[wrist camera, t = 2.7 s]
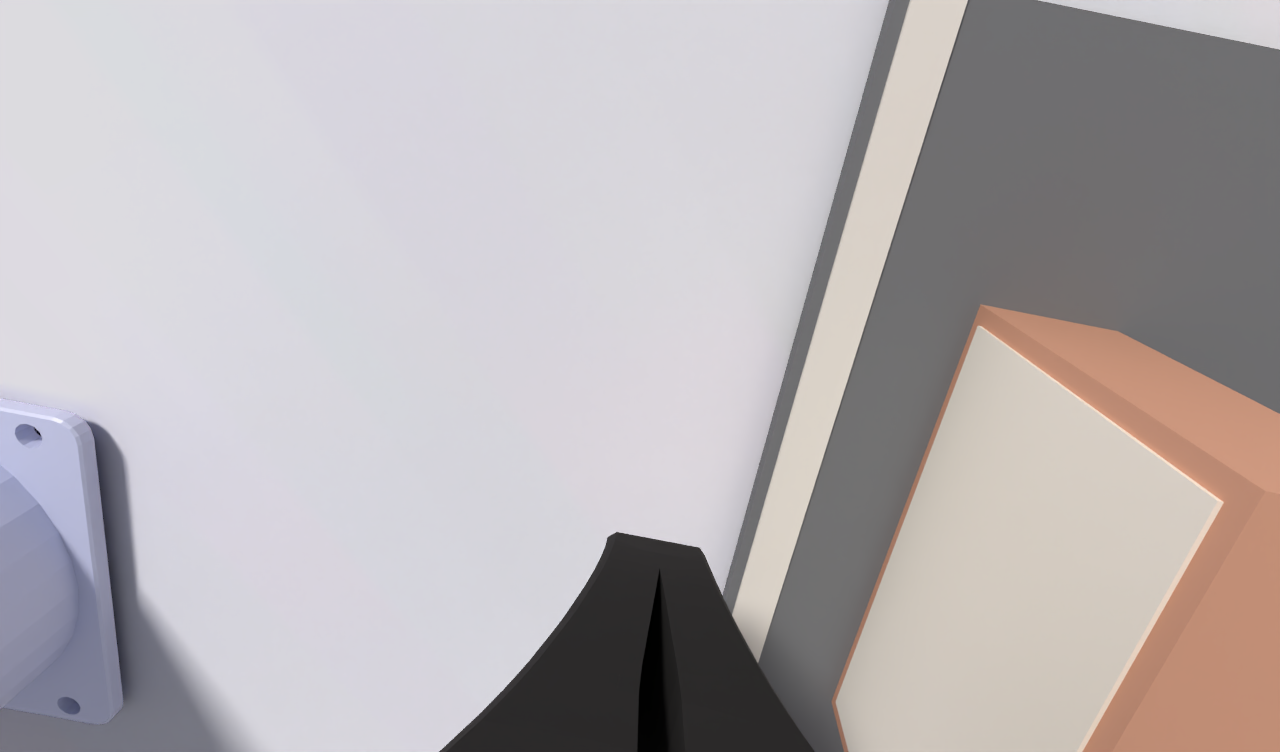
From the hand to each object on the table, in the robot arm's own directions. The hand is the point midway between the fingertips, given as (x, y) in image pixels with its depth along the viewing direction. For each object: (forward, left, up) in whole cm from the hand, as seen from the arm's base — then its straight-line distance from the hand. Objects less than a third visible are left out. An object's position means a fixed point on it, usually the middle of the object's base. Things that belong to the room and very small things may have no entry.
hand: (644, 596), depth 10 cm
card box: (+6, 0, -3) cm, 7 cm away
